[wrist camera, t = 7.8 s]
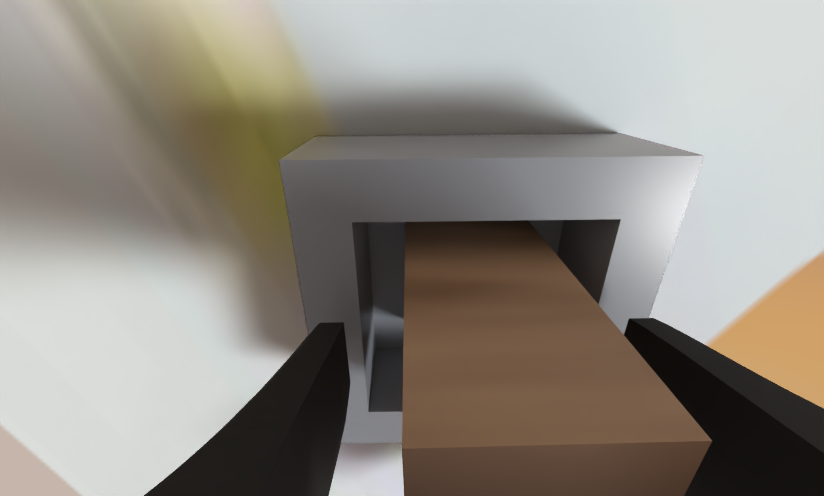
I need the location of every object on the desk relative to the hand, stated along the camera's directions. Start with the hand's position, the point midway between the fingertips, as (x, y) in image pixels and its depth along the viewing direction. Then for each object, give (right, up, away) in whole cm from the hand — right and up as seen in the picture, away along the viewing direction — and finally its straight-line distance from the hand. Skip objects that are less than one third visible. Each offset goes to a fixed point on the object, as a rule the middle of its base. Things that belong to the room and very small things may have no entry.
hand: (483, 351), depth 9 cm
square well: (0, +2, +4) cm, 4 cm away
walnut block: (0, +2, +3) cm, 4 cm away
